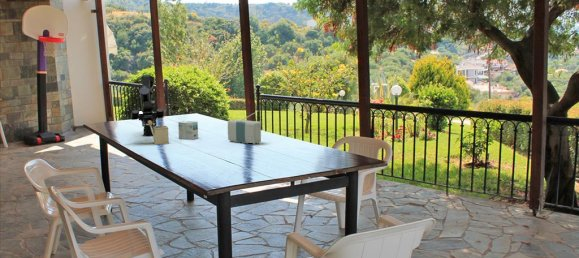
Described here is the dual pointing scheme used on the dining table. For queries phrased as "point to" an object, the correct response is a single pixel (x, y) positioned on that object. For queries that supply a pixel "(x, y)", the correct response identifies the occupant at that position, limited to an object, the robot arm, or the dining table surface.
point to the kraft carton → (160, 135)
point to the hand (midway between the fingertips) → (149, 125)
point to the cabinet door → (151, 126)
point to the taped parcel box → (244, 131)
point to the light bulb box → (188, 130)
